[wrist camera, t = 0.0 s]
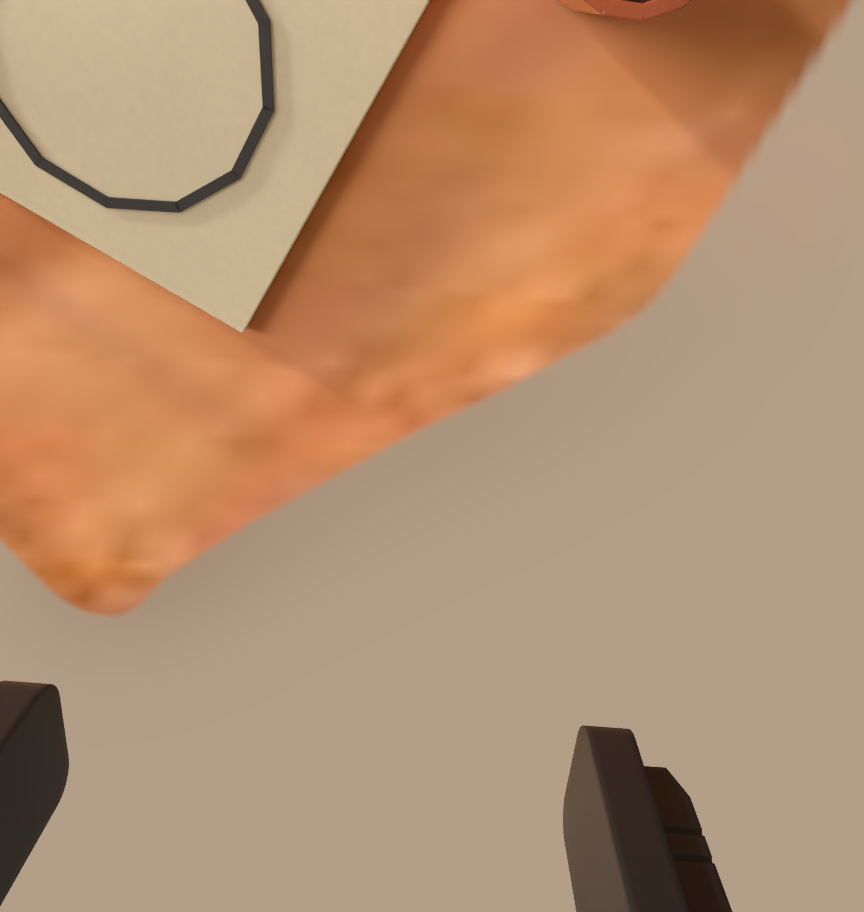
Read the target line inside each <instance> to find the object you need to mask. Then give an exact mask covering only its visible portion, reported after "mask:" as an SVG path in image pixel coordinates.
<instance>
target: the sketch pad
mask: <svg viewBox="0 0 864 912" xmlns="http://www.w3.org/2000/svg"><path fill="white" fill-rule="evenodd" d="M429 2H430V0H0V193H1V194H3V195H4V196H6V197H8V198H10V199H11V200H13V201H15V202H17V203H18V204H20V205H22V206H23V207H25V208H27V209H29V210H30V211H32V212H34V213H36V214H37V215H39V216H41V217H42V218H44V219H46V220H48V221H49V222H51V223H53V224H55V225H56V226H58V227H60V228H61V229H63V230H65V231H67V232H68V233H70V234H72V235H74V236H75V237H77V238H79V239H80V240H82V241H84V242H86V243H87V244H89V245H91V246H93V247H94V248H96V249H98V250H99V251H101V252H103V253H105V254H106V255H108V256H110V257H112V258H113V259H115V260H117V261H119V262H120V263H122V264H124V265H125V266H127V267H129V268H131V269H132V270H134V271H136V272H138V273H139V274H141V275H143V276H144V277H146V278H148V279H150V280H151V281H153V282H155V283H157V284H158V285H160V286H162V287H163V288H165V289H167V290H169V291H170V292H172V293H174V294H176V295H177V296H179V297H181V298H182V299H184V300H186V301H188V302H189V303H191V304H193V305H195V306H196V307H198V308H200V309H201V310H203V311H205V312H207V313H208V314H210V315H212V316H214V317H215V318H217V319H219V320H220V321H222V322H224V323H226V324H227V325H229V326H231V327H233V328H234V329H236V330H238V331H239V332H241V333H243V332H244V331H245V330H246V328H247V326H248V324H249V323H250V321H251V319H252V317H253V315H254V314H255V312H256V310H257V308H258V307H259V305H260V303H261V301H262V299H263V298H264V296H265V294H266V292H267V291H268V289H269V287H270V285H271V283H272V282H273V280H274V278H275V276H276V275H277V273H278V271H279V269H280V267H281V266H282V264H283V262H284V260H285V258H286V257H287V255H288V253H289V251H290V250H291V248H292V246H293V244H294V242H295V241H296V239H297V237H298V235H299V234H300V232H301V230H302V228H303V226H304V225H305V223H306V221H307V219H308V218H309V216H310V214H311V212H312V210H313V209H314V207H315V205H316V203H317V201H318V200H319V198H320V196H321V194H322V193H323V191H324V189H325V187H326V185H327V184H328V182H329V180H330V178H331V177H332V175H333V173H334V171H335V169H336V168H337V166H338V164H339V162H340V161H341V159H342V157H343V155H344V153H345V152H346V150H347V148H348V146H349V145H350V143H351V141H352V139H353V137H354V136H355V134H356V132H357V130H358V128H359V127H360V125H361V123H362V121H363V120H364V118H365V116H366V114H367V112H368V111H369V109H370V107H371V105H372V104H373V102H374V100H375V98H376V96H377V95H378V93H379V91H380V89H381V88H382V86H383V84H384V82H385V80H386V79H387V77H388V75H389V73H390V71H391V70H392V68H393V66H394V64H395V63H396V61H397V59H398V57H399V55H400V54H401V52H402V50H403V48H404V47H405V45H406V43H407V41H408V39H409V38H410V36H411V34H412V32H413V31H414V29H415V27H416V25H417V23H418V22H419V20H420V18H421V16H422V15H423V13H424V11H425V9H426V7H427V6H428V4H429Z"/></svg>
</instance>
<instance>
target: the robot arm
mask: <svg viewBox="0 0 864 912" xmlns="http://www.w3.org/2000/svg"><path fill="white" fill-rule="evenodd" d="M68 768H69V758H68V750H67V744H66V737H65V730H64V723H63V716H62V709H61V702H60V695H59V691H58V689H57V687H56V686H54V685H52V684H41V683H28V682H14V681H1V682H0V906H1V904H2V902H3V900H4V899H5V897H6V895H7V893H8V892H9V890H10V888H11V886H12V884H13V882H14V881H15V879H16V877H17V876H18V874H19V872H20V870H21V868H22V867H23V865H24V863H25V861H26V860H27V858H28V856H29V855H30V853H31V851H32V849H33V848H34V846H35V844H36V842H37V840H38V839H39V837H40V835H41V833H42V832H43V830H44V828H45V826H46V825H47V823H48V821H49V819H50V818H51V816H52V814H53V812H54V810H55V809H56V807H57V805H58V803H59V801H60V799H61V797H62V794H63V792H64V788H65V785H66V780H67V776H68ZM563 828H564V829H563V830H564V841H565V847H566V853H567V859H568V864H569V871H570V876H571V882H572V888H573V894H574V900H575V906H576V912H732V910H731V908H730V905H729V902H728V899H727V896H726V894H725V891H724V888H723V886H722V883H721V880H720V877H719V875H718V872H717V869H716V866H715V864H713V863H712V856H711V853H710V850H709V848H708V845H707V842H706V839H705V837H704V836H702V828H701V826H700V823H699V820H698V818H697V815H696V812H695V810H694V807H693V804H692V801H691V799H690V796H689V795H688V794H687V793H686V792H685V790H684V789H683V788H682V787H681V786H680V784H679V783H678V782H677V781H676V779H675V778H674V777H673V776H672V775H671V773H670V772H669V771H668V770H667V769H666V768H662V767H648V766H644V765H643V762H642V759H641V756H640V752H639V749H638V746H637V743H636V740H635V737H634V735H633V733H632V731H631V730H630V729H622V728H609V727H595V726H581V727H580V729H579V732H578V735H577V740H576V745H575V749H574V755H573V759H572V764H571V769H570V774H569V779H568V783H567V788H566V793H565V798H564V809H563Z"/></svg>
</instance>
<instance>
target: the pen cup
mask: <svg viewBox="0 0 864 912" xmlns="http://www.w3.org/2000/svg"><path fill="white" fill-rule="evenodd" d="M557 1H558V2H560V3H561V4H563V5H565V6H566V7H567V8H568V9H571V10H573V11H579V12H585V13H591V14H598V15H604V16H610V17H617V18H623V19H629V20H636V21H646V20H649V19H651V18H654V17H657V16H660V15H663V14H665V13H668V12H671V11H674V10H677V9H679V8H682V7H684V6H685V5H687V4H688V3H689V2H690V1H691V0H557Z"/></svg>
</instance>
